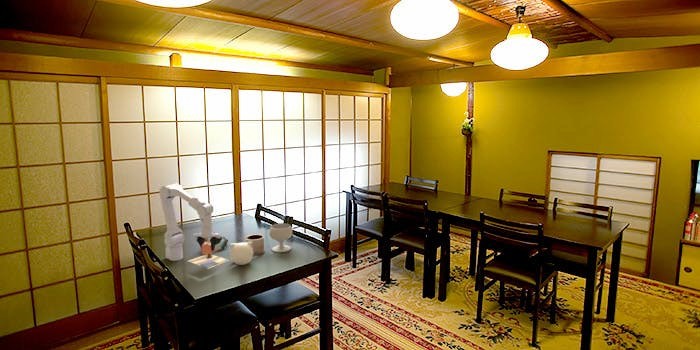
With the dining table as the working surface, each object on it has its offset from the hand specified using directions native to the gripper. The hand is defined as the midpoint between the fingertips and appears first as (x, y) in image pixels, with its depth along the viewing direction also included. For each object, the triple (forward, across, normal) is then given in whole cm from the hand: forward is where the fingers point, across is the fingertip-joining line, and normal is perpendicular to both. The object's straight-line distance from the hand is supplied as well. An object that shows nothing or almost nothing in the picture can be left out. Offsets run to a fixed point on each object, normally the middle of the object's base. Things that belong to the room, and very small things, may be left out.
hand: (208, 250), depth 208 cm
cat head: (+10, +17, +4) cm, 20 cm away
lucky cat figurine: (+10, -7, +24) cm, 27 cm away
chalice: (+10, +34, +28) cm, 45 cm away
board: (+9, -2, +5) cm, 11 cm away
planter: (+10, +19, +23) cm, 31 cm away
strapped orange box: (+1, 0, 0) cm, 1 cm away
